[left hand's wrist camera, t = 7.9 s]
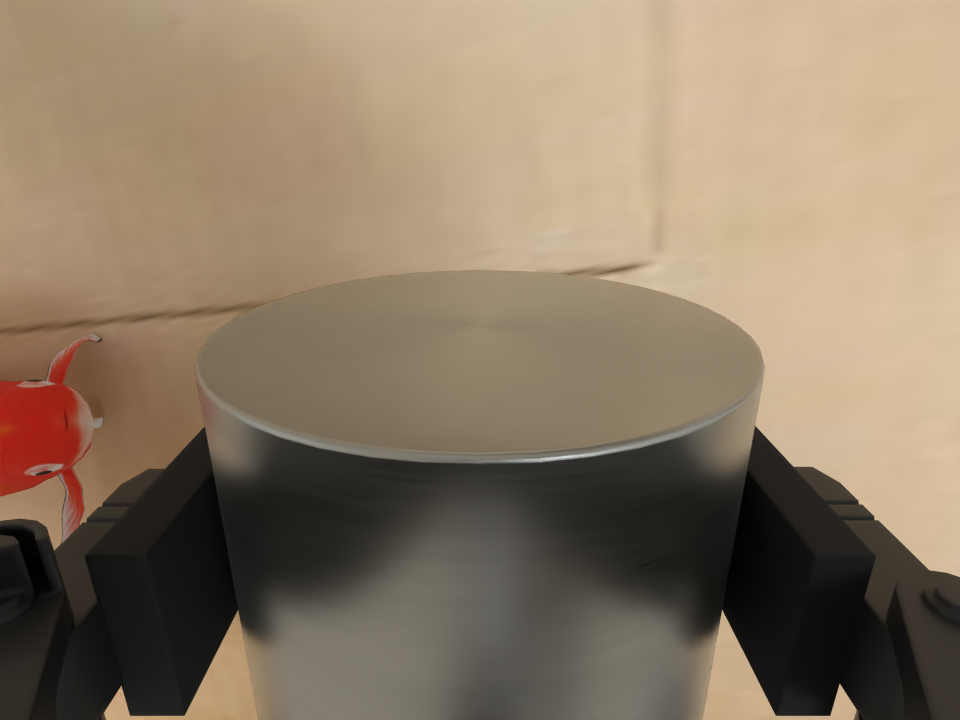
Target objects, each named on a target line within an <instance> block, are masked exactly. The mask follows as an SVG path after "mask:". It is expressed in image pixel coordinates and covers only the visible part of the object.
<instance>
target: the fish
mask: <svg viewBox="0 0 960 720" xmlns="http://www.w3.org/2000/svg"><path fill="white" fill-rule="evenodd" d="M88 340H91V341H94V342H97V343H98V342H100V341H102V339H101V338H100V337H98V336H97V335H96V334H95V333H91V334H89V335H86V336H84V337H82V338H79V339H77V340H75V341H73V342H72V343H70V344H69V345H68V346H66V347H65V348H64V349H63V350H61V351H60V352H59V353H58V354H57V355H56V356H55V357H54V359H53V360H52V362H51V364H50V367H49V370H48V375H47V378H46V381H43V380H28V381H16V382H8V381H0V497H1V496H4V495H8V494H12V493H15V492H19V491H23V490H26V489H29V488H32V487H34V486H36V485H38V484H40V483H42V482H43V481H45V480H47V479H50V478H52V477H54V476H56V475H58V476H59V478H60V480H61V481H62V483H63V484H64V486H65V488H66V495H65V500H64V505H63V510H62V540H61V544H62V543H63V542H64V541H65V540H66V539H67V538H68V537H69V536H70V535H71V534H72V533H73V532H74V531H75V530H76V529H77V528H78V527H79V524H80V521H81V519H82V516H83V513H84V501H83V490H82V486H81V484H80V482H79V480H78V478H77V476H76V474H75V472H74V470H73V468H72V466H73V465H74V464H75V463H77V462H78V461H79V460H80V459H82V457H83V456H84V455H85V453H86V452H87V451H88V449H89V448H90V445H91V442H92V439H93V431H94V429H95V428H100V427H101V425H102V422H103V418H93V417H92V414H91V411H90V409H89V406H88V403H87V402H86V400H85V399H84V398H83V397H81V395H80V394H79V393H78V392H77V391H76V390H75V389H73V388H70V387H68V386H65V385H63V384H64V381H65V378H66V375H67V371H68V368H69V366H70V364H71V362H72V360H73V358H74V355H75V353H76V350H77V349H78V348H79V346H80V345H81V344H82V342H85V341H88Z"/></svg>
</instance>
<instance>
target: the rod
mask: <svg viewBox="0 0 960 720" xmlns="http://www.w3.org/2000/svg"><path fill="white" fill-rule="evenodd" d="M764 369H765V366H764V362H763V359H762V355H761V352H760V349H759V347H758V346H757V344H756V343H755V342H754V340H753V339H752V337H751V336H750V335H748V334H747V333H746V332H745V331H744V330H743V329H742V328H741V327H739V326H738V325H736V324H735V323H733V322H732V321H730V320H729V319H727V318H725V317H724V316H722V315H720V314H718V313H716V312H714V311H712V310H710V309H708V308H705V307H703V306H700V305H698V304H695V303H693V302H690V301H687V300H685V299H682V298H679V297H676V296H672V295H669V294H666V293H663V292H659V291H655V290H651V289H647V288H643V287H639V286H634V285H629V284H624V283H619V282H614V281H608V280H602V279H595V278H588V277H580V276H572V275H562V274H552V273H538V272H521V271H481V270H479V271H441V272H424V273H410V274H400V275H390V276H382V277H374V278H367V279H360V280H354V281H349V282H343V283H337V284H333V285H328V286H323V287H319V288H315V289H311V290H307V291H303V292H299V293H295V294H292V295H289V296H286V297H283V298H280V299H277V300H274V301H271V302H269V303H266V304H264V305H261V306H259V307H256V308H254V309H252V310H250V311H248V312H246V313H243V314H241V315H239V316H237V317H235V318H234V319H232V320H231V321H229V322H228V323H226V324H225V325H223V326H221V327H220V328H219V329H218V330H217V331H216V332H214V333H213V334H212V335H211V336H210V337H209V338H208V339H207V341H206V342H205V343H204V345H203V346H202V348H201V349H200V352H199V355H198V359H197V362H196V366H195V372H196V379H197V385H198V391H199V396H200V402H201V407H202V413H203V418H204V424H205V429H206V435H207V440H208V446H209V451H210V457H211V462H212V468H213V473H214V478H215V484H216V489H217V495H218V500H219V506H220V511H221V517H222V522H223V528H224V533H225V539H226V544H227V550H228V555H229V561H230V566H231V572H232V577H233V583H234V588H235V594H236V599H237V605H238V610H239V616H240V621H241V627H242V632H243V638H244V643H245V649H246V654H247V660H248V665H249V671H250V676H251V681H252V687H253V692H254V698H255V703H256V709H257V714H258V720H702V719H703V713H704V708H705V702H706V696H707V691H708V685H709V680H710V674H711V669H712V663H713V657H714V652H715V646H716V641H717V635H718V629H719V624H720V618H721V613H722V607H723V601H724V596H725V590H726V585H727V579H728V573H729V568H730V562H731V557H732V551H733V545H734V540H735V534H736V529H737V523H738V517H739V512H740V506H741V501H742V495H743V490H744V484H745V478H746V473H747V467H748V462H749V456H750V450H751V445H752V439H753V434H754V428H755V422H756V417H757V411H758V406H759V400H760V394H761V389H762V383H763V377H764Z"/></svg>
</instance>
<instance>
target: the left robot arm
mask: <svg viewBox="0 0 960 720" xmlns="http://www.w3.org/2000/svg"><path fill="white" fill-rule="evenodd" d="M722 610H723V612H724V614H725V616H726V618H727V620H728V622H729V624H730V626H731V628H732V630H733V632H734V634H735V636H736V638H737V640H738V642H739V644H740V646H741V648H742V650H743V651H744V653H745V655H746V657H747V659H748V661H749V663H750V665H751V667H752V669H753V671H754V673H755V675H756V677H757V679H758V681H759V683H760V685H761V687H762V689H763V691H764V693H765V695H766V697H767V699H768V701H769V703H770V705H771V707H772V709H773V711H774V713H775V715H776V716H830V715H831V711H832V708H833V704H834V701H835V697H836V694H837V691H838V687H839V684H841V686H842V687H843V689H844V691H845V692H846V694H847V695H848V697H849V698H850V700H851V701H852V703H853V704H854V706H855V707H856V709H857V711H856V715H855V718H854V720H960V577H957V576H954V575H951V574H948V573H944V572H937V571H929V570H928V569H927V568H926V567H925V566H924V565H923V564H922V563H921V562H920V561H919V560H918V559H917V558H916V557H915V556H914V555H913V554H912V553H911V552H910V551H909V550H908V549H907V548H906V547H905V546H904V545H903V544H902V543H901V542H900V541H899V540H898V539H897V538H896V537H895V536H894V535H893V534H892V533H891V532H890V531H889V530H888V529H887V528H886V527H884V526H883V525H882V524H881V523H880V522H879V521H878V520H874V516H873V515H872V514H871V513H870V512H869V511H868V510H867V509H866V508H865V507H864V506H863V505H859V503H858V500H857V499H856V498H855V497H854V496H853V495H852V494H851V493H850V492H849V491H848V490H847V489H846V488H845V487H844V486H843V485H842V484H841V483H839V482H838V481H836V480H834V479H832V478H831V477H829V476H827V475H825V474H824V473H822V472H820V471H818V470H817V469H815V468H813V467H793V466H792V465H791V464H790V463H789V462H788V461H787V460H786V458H785V457H784V456H783V455H782V454H781V453H780V452H779V451H778V450H777V449H776V448H775V447H774V446H773V445H772V443H771V442H770V441H769V440H768V439H767V438H766V437H765V436H764V435H763V434H762V433H761V432H760V431H759V429H758V428H757V427H756V426H755V428H754V434H753V439H752V445H751V450H750V456H749V462H748V467H747V473H746V478H745V484H744V490H743V495H742V501H741V506H740V512H739V517H738V523H737V529H736V534H735V540H734V545H733V551H732V557H731V562H730V568H729V573H728V579H727V585H726V590H725V596H724V601H723V607H722ZM237 611H238V605H237V599H236V594H235V588H234V583H233V577H232V572H231V566H230V561H229V555H228V550H227V544H226V539H225V533H224V528H223V522H222V517H221V511H220V506H219V500H218V495H217V489H216V484H215V478H214V473H213V468H212V462H211V457H210V451H209V446H208V440H207V435H206V429H205V427H204V428H203V429H202V430H201V431H200V432H199V433H198V434H197V435H196V436H195V438H194V439H193V440H192V441H191V442H190V443H189V444H188V445H187V446H186V447H185V448H184V449H183V450H182V451H181V453H180V454H179V455H178V456H177V457H176V458H175V459H174V460H173V461H172V462H171V463H170V464H169V465H168V467H167V468H166V469H148V470H146V471H144V472H142V473H141V474H139V475H137V476H136V477H134V478H132V479H130V480H129V481H127V482H125V483H123V484H122V485H120V486H119V487H118V488H117V489H116V490H115V491H114V492H113V493H112V494H111V495H110V496H109V497H108V498H107V499H106V500H105V501H104V502H103V505H102V507H98V508H97V509H96V510H95V511H94V512H93V513H92V514H91V515H90V516H89V517H88V518H87V522H86V523H82V524H81V525H80V526H79V527H78V528H77V529H76V530H75V531H74V532H73V533H72V534H71V535H70V536H69V537H68V538H67V539H66V540H65V541H64V542H63V543H62V544H61V545H60V546H59V547H58V548H57V549H56V550H55V551H54V550H53V546H52V543H51V540H50V537H49V533H48V530H47V527H45V526H44V525H42V524H41V523H39V522H38V521H34V520H26V519H13V520H5V521H0V720H106V718H105V715H104V712H105V710H106V708H107V707H108V705H109V704H110V702H111V701H112V699H113V698H114V696H115V695H116V693H117V691H118V690H119V688H120V687H121V685H122V689H123V692H124V696H125V699H126V703H127V706H128V710H129V713H130V716H185V714H186V712H187V710H188V708H189V706H190V704H191V702H192V700H193V698H194V696H195V694H196V692H197V690H198V688H199V686H200V684H201V682H202V680H203V678H204V676H205V674H206V672H207V670H208V668H209V666H210V664H211V662H212V660H213V658H214V656H215V654H216V652H217V650H218V648H219V646H220V644H221V642H222V640H223V638H224V637H225V635H226V633H227V631H228V629H229V627H230V625H231V623H232V621H233V619H234V617H235V615H236V613H237Z"/></svg>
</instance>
